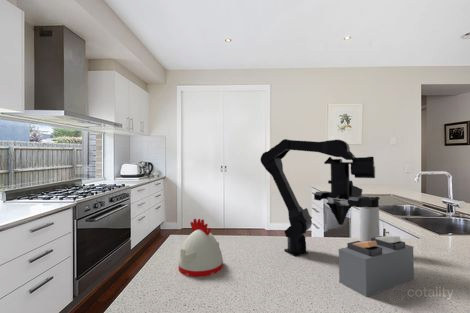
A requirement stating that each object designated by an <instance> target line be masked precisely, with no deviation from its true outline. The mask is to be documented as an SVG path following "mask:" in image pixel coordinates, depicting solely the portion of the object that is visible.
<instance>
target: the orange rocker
mask: <svg viewBox="0 0 470 313" xmlns="http://www.w3.org/2000/svg"><path fill="white" fill-rule="evenodd" d="M353 245H356V246H359V247H362V248H367V247H373V246H377V243H376V241H367V242H358V243H354V244H353Z"/></svg>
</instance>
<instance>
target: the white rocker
mask: <svg viewBox="0 0 470 313" xmlns="http://www.w3.org/2000/svg"><path fill="white" fill-rule="evenodd" d="M380 236H381V237H376V238H375V239H378V240H382V241H385V242H388V243H395V242H399V241H401V238H400V236H387V235H385V236H383V235H380Z"/></svg>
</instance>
